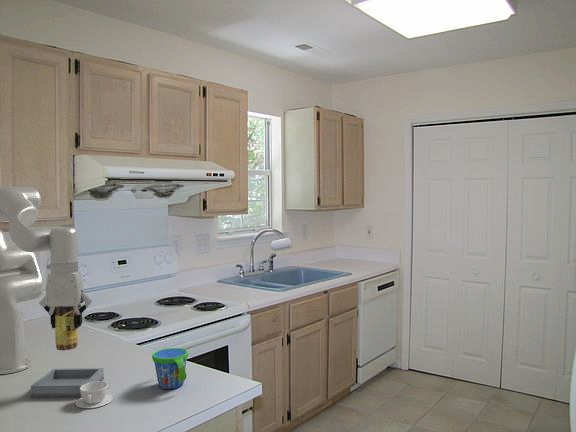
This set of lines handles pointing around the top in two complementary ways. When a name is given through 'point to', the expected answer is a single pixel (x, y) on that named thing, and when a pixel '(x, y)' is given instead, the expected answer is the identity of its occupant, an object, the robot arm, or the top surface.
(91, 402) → the teacup
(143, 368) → the top surface
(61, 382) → the tray
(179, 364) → the snack cup
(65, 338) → the sauce bottle
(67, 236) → the robot arm
